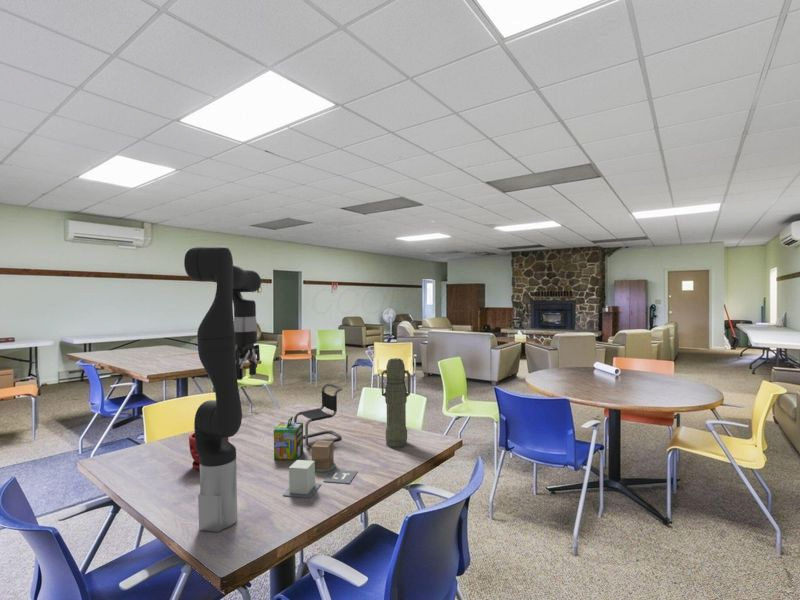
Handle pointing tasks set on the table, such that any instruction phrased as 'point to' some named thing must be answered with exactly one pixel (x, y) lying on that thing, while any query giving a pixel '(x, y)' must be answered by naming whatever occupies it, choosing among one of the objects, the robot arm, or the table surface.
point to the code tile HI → (303, 494)
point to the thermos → (396, 403)
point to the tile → (340, 476)
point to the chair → (321, 413)
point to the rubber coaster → (326, 470)
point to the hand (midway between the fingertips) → (246, 377)
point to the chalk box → (288, 440)
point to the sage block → (301, 476)
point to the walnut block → (323, 454)
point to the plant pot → (193, 451)
